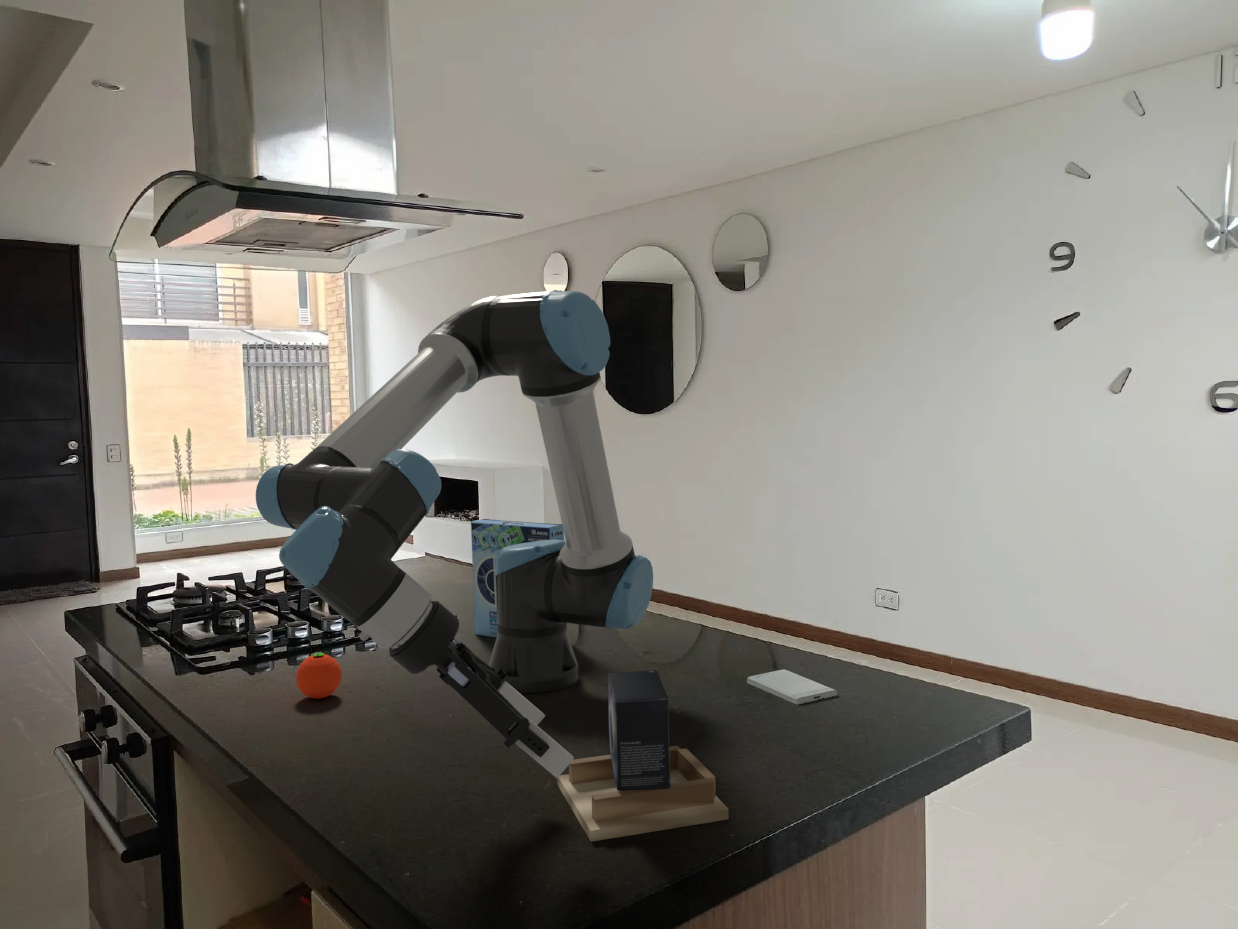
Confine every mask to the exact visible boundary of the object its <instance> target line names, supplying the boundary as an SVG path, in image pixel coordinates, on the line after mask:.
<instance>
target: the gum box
mask: <svg viewBox="0 0 1238 929" xmlns="http://www.w3.org/2000/svg"><path fill="white" fill-rule="evenodd" d="M470 527H471V528H470V530H471V532H470V536H471V554H472V555H471V557H472V559H471V560H472V582H473V583H472V585H473V586H472V587H473V590H472V591H473V609H474V610H473V611H474V612H473V613H474V616H473V617H474V634H475V635H478V636H484V637H490V638H496V639H497V603H496V576H495V573H496V557H497V554H498V552H499V551H500V550H501V549H503V548H505V547H508V546H511V545H516V544H521V543H527V542H534V541H542V540H557V539H558V540H564V541H565V534H564V530H563V525H562V523H544V522H531V521H516V520H515V521H514V520H501V519H489V518H483V519H477V520H473V521H470Z"/></svg>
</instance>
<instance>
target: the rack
mask: <svg viewBox="0 0 1238 929" xmlns="http://www.w3.org/2000/svg"><path fill="white" fill-rule="evenodd" d="M669 754H670V756H669V757H670V778H671V788H662V789H645V790H626V791H618V790H617V787H616V782H615V777H614V771H613V766H612V760H611V755H610V754H606V755H599V756H590V757H584V758H583V757H582V758H576V759H575V758H574V759H573V761H572V762H571V763H570V764H569V765H568V774H560V776H559V777H558V778H557V786H558V789H559V790H560V792H561V794H562V795H563V797H564V799H565V800H566V803H567V804H568V805H569V807H570V809H571V810H572V812H573V814H574V815H575V818H577V820H578V823H579V824H580V826H581V828H582V829H583V831H584V832H585V834H586V835H587V837H588V839H589V841H590V842H599V841H602V840H603V841H604V840H608V839H609V840H610V839H615V838H622V837H628V836H634V835H641V834H646V833H647V834H648V833H652V832H658V831H665V830H672V829H677V828H683V827H689V826H690V827H691V826H695V825H701V824H707V823H715V822H720V821H721V822H722V821H727V820H729V819H730V818H729V816H730V814H729V812H730V810H729V807H727V806H726V804H725V803H723V801H721V799H720V798H719V797H718V796H717V795H716V776H715V775H714V774H713V773H712V772H711V771H710V770H709V769H708V768H706V766H705V765H703V763H702V762H701V761H699V759H698V758H697V757H696V756H694V754H692V752H690V750H689V749H688V748H680V746H678V745H673V746H669Z"/></svg>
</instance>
